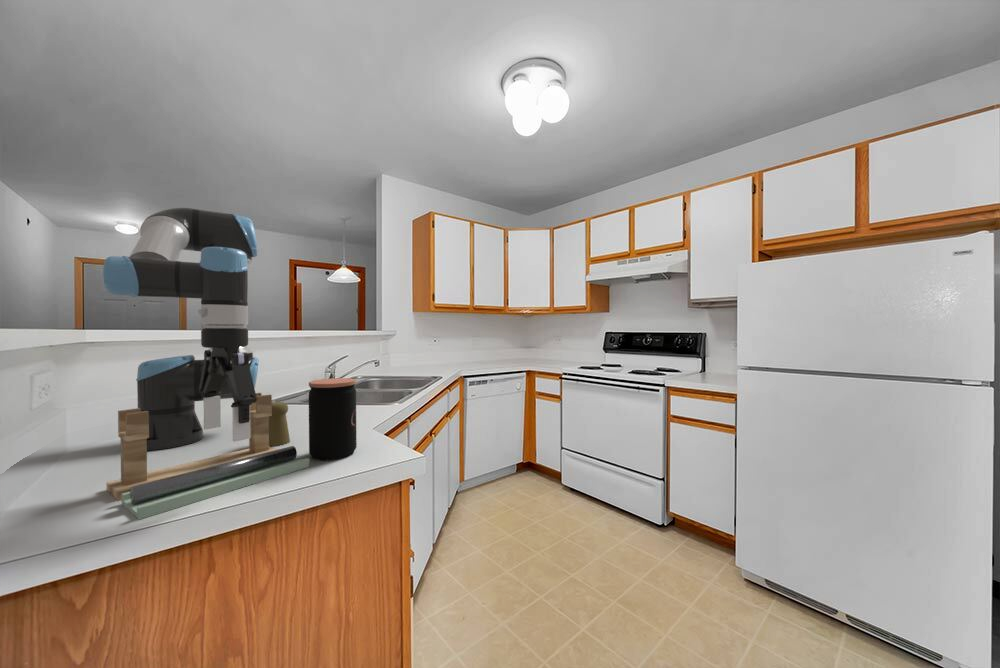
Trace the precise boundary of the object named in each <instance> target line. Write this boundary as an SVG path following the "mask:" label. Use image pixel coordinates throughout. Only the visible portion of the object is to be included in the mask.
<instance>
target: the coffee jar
mask: <svg viewBox="0 0 1000 668" xmlns="http://www.w3.org/2000/svg"><path fill="white" fill-rule="evenodd" d="M356 384H357V380H356V379H355V378H350V377H349V378H348V377H347V378H346V377H344V378H343V377H342V378H339V377H338V378H337V377H335V378H320V379H315V380H310V381H308V387H309V388H310V390H309V391H308V454H309V455H310V456H311V458H313V460H316V461H334V460H340V459H344V458H347V457H350V456H351V455H353V454H354V452H355V450H356V449H357V447H358V445H357V443H358V442H357V390H356V388H355V385H356Z"/></svg>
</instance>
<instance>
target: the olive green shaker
mask: <svg viewBox="0 0 1000 668" xmlns="http://www.w3.org/2000/svg"><path fill="white" fill-rule="evenodd" d="M288 411H289V406H288V404H287V402H284V401H275V402H272V416H269V446H274V447H281V446H284V444H285V445H288V444H290V443H289V442H291V438H290V433H289V425H288V420H287V412H288ZM287 443H288V444H287ZM280 445H281V446H280Z"/></svg>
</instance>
